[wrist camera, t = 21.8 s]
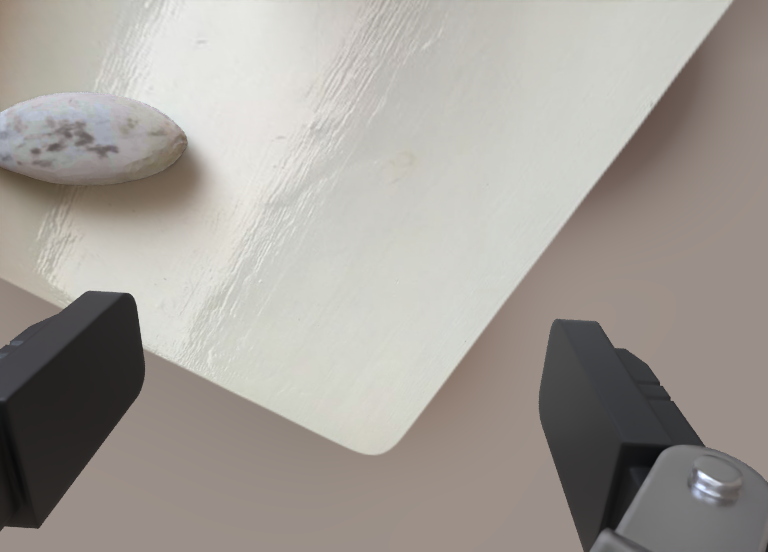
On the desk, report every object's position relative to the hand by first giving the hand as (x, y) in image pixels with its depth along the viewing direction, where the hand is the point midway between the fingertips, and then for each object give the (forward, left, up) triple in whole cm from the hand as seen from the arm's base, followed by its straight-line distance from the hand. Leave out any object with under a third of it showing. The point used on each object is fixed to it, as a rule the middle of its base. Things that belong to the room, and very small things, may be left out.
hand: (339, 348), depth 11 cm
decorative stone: (+21, +2, -30) cm, 37 cm away
